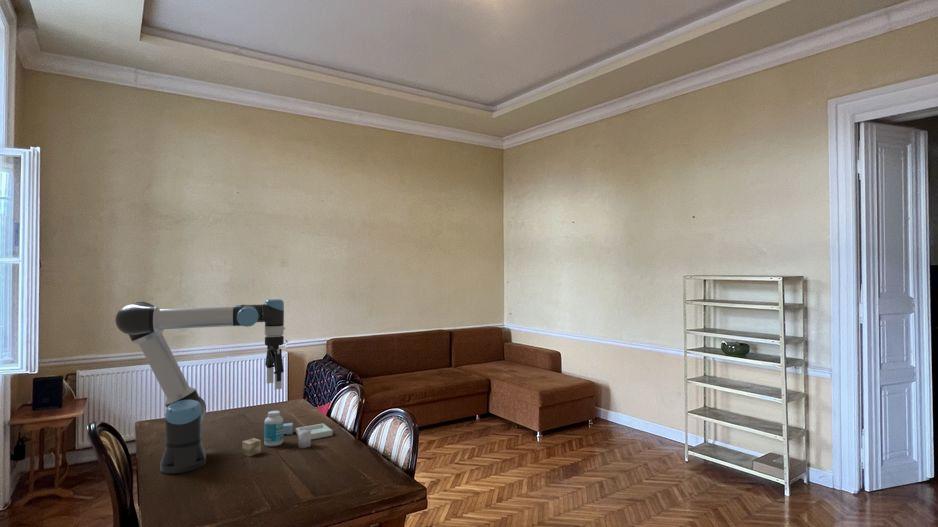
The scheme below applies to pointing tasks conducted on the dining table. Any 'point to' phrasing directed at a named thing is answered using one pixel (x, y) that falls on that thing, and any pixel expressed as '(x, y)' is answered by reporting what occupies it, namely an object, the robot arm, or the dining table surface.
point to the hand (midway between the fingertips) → (274, 386)
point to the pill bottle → (273, 429)
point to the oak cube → (251, 447)
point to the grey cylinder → (304, 438)
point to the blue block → (288, 428)
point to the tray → (317, 430)
